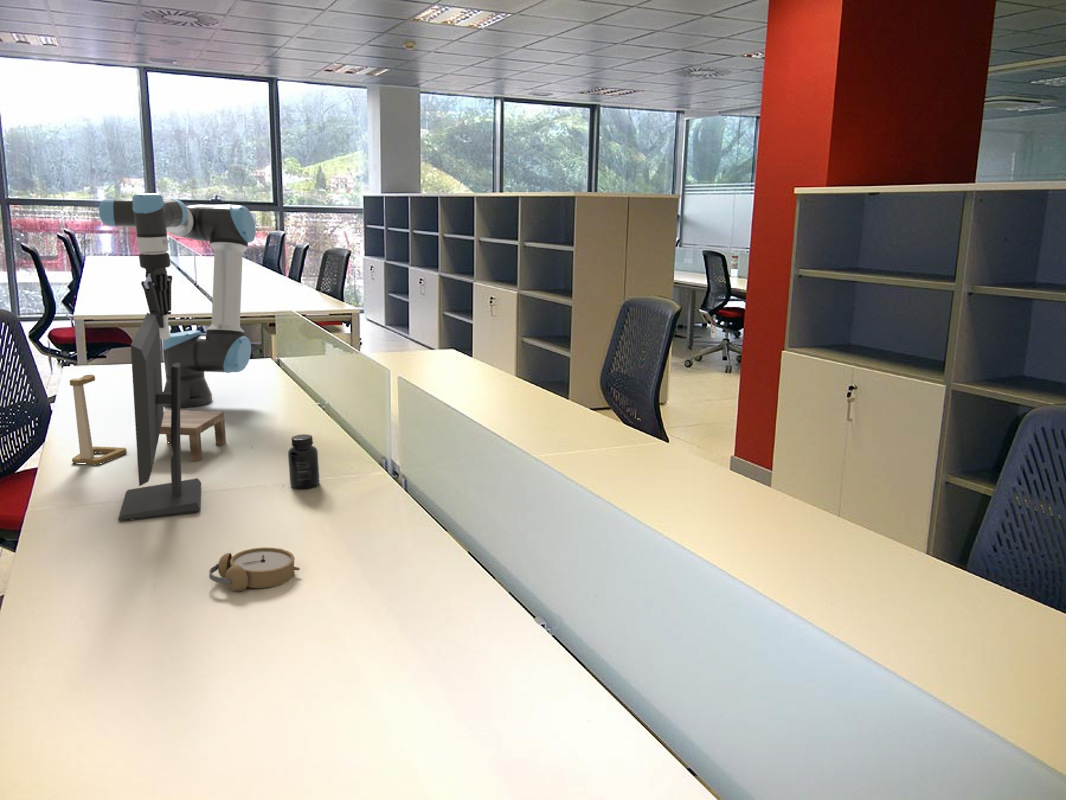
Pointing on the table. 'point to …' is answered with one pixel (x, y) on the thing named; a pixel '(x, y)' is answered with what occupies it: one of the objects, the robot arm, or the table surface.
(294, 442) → the supplement bottle
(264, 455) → the table surface
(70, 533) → the table surface
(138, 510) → the computer monitor
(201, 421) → the stool
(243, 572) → the alarm clock
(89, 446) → the headphone stand
